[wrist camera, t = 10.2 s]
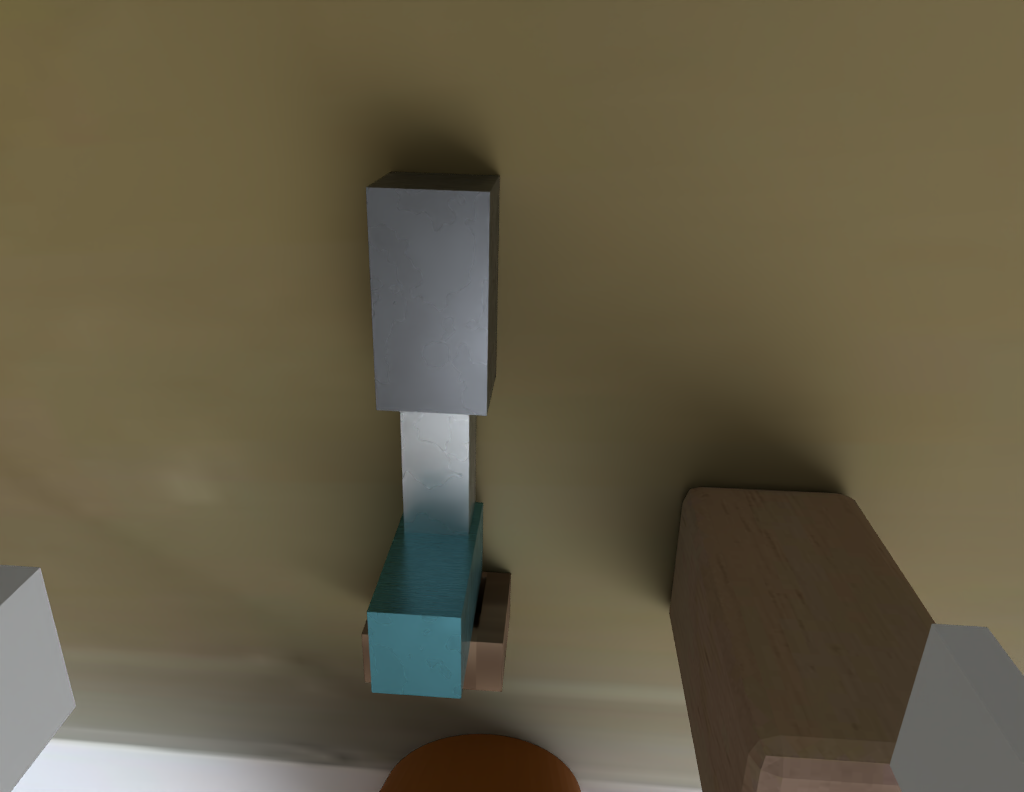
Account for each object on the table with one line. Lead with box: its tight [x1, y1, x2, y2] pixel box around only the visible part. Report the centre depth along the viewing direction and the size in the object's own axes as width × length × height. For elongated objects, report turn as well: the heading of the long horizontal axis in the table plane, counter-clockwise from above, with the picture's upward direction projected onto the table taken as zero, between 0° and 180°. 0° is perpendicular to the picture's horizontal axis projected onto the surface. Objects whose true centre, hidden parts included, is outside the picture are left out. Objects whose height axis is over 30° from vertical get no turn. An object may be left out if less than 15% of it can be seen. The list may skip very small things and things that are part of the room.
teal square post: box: [367, 411, 483, 699], centre depth 41 cm, size 19×4×10 cm, turn 178°
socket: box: [362, 572, 511, 692], centre depth 47 cm, size 4×8×6 cm, turn 88°
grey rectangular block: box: [366, 172, 500, 416], centre depth 40 cm, size 11×6×6 cm, turn 178°
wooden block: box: [669, 487, 936, 792], centre depth 38 cm, size 10×10×20 cm
